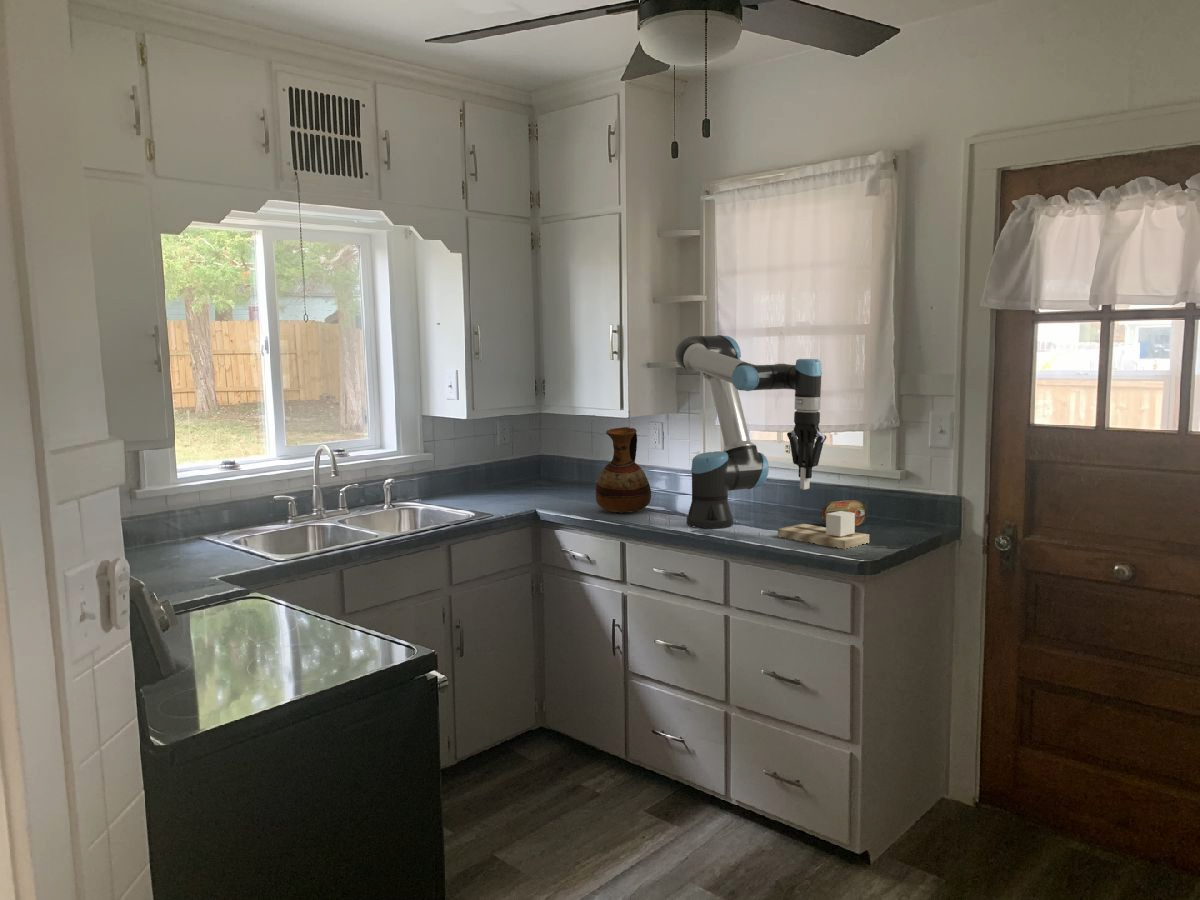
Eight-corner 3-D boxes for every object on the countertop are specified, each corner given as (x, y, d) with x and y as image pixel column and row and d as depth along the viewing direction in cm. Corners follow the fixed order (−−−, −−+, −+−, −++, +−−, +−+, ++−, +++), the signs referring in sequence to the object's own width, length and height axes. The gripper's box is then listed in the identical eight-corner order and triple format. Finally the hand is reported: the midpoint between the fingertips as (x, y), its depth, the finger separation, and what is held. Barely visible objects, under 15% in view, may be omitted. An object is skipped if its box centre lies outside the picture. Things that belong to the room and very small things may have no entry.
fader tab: (825, 534, 270) (826, 513, 269) (840, 530, 275) (840, 510, 274) (840, 536, 266) (840, 516, 266) (854, 533, 271) (854, 513, 270)
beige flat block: (777, 536, 281) (777, 528, 280) (802, 531, 288) (802, 523, 288) (844, 549, 263) (845, 540, 262) (869, 543, 270) (869, 534, 270)
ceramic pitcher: (588, 514, 323) (587, 429, 320) (605, 505, 342) (604, 424, 339) (642, 516, 317) (642, 430, 314) (656, 507, 336) (656, 425, 333)
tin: (825, 529, 292) (825, 502, 291) (820, 527, 295) (820, 501, 294) (866, 525, 296) (867, 499, 295) (861, 524, 299) (861, 498, 298)
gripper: (781, 410, 278) (779, 487, 282) (817, 413, 269) (814, 493, 272) (797, 408, 283) (795, 484, 286) (833, 411, 273) (830, 490, 277)
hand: (804, 488), depth 279 cm, fingers closed
